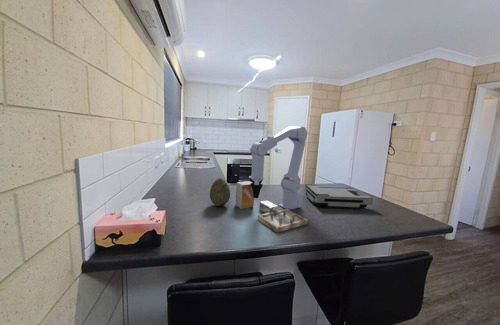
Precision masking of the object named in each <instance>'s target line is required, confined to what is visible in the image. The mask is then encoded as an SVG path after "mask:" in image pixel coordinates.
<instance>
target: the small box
mask: <svg viewBox="0 0 500 325" xmlns="http://www.w3.org/2000/svg"><path fill="white" fill-rule="evenodd" d="M251 183H253V182H252V181H250V180H246V181H245V180H244V181H238V182H236V187H235V188H236V190H235V207H238V208H239V209H241V210H242V209H247V208H253V207H254V206H255V205H254V203H255V198H254V197H253V190H252V187H251Z"/></svg>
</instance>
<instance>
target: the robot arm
mask: <svg viewBox="0 0 500 325" xmlns="http://www.w3.org/2000/svg"><path fill="white" fill-rule="evenodd" d="M307 137H308V131H307V129H306V127H305V126H291V125H289V126H287V127H285V129H283V130H282V131H280V132H279V133H277V134H276V135H267V136H266V137H265V138H264V139H260V140H259V142H254V143H252V145H251V147H250V148H249V150H250V153H251V173H250V174H251V175H249V176H248V179H251V182H252V183H251V187H252V190H253V197H254V199H259V197H260V192H261V190H262V188H263V183H262V182H263V180H264V179H265V178H264V171H265V170H264V168H265V156H266V155H267V153H268V151H270V150H272V149H274V148H275V147H277V145H278V143H279V142H281V141H283V140H285V139H287V138H288V139H289V140H290V141H291V142H292V143H293V145H294V146H293V150H292V154H291V158H290V162H289V166H288V171H287V173H285V174H284V175H283V177H282V179H281V181H280V187H281V189H282V202H281V203H279V204H278V206H280V207H282V208H284V209H288V210H290V211H291V210H294V209H298V208H301V207H302V206H301V205H300V203H301V194H300V192H299V191H300V189H301V182H302V181H301V180H302V179H301V178H300V177H299V171H300V167H301V163H302V159H303V154H304V151H305V147H306V140H307Z"/></svg>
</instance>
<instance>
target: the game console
mask: <svg viewBox="0 0 500 325" xmlns="http://www.w3.org/2000/svg"><path fill="white" fill-rule="evenodd" d="M304 192H305V196H306V197H307V198H308V199H309V200H310V201H311V202H312V203H313V204H314V205H315V206H317V207H318V208H319V209H338V210H339V209H340V210H361V209H362V210H363V208H367V206H368V205H372V206H373V201H374V198H373V197H371V196H368V195H360V194H359V193H358V190H357V189H356V188H354V187H351V188H350V187H330V186H329V187H327V186H318V185H316V184H305V188H304Z"/></svg>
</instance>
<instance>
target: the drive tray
mask: <svg viewBox="0 0 500 325" xmlns="http://www.w3.org/2000/svg"><path fill="white" fill-rule="evenodd" d="M257 220H258V221H259V222H260V223H262V224H264V225H265V226H267V227H268V228H269V229H271V230H272V231H273V232H275V233H281V232H283V231H284V232H285V231H287V230H290V229H294V228H297V227H301V226H305V225H308V219H307V218H305V217H303V216H301V215H299V214H297V213H295V212H293V211H291V209H290V210H288V209H285V208H284V209H281V210H280V209H279V210H278V211H276V209H273V212H270V213H261V214H258V215H257Z"/></svg>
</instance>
